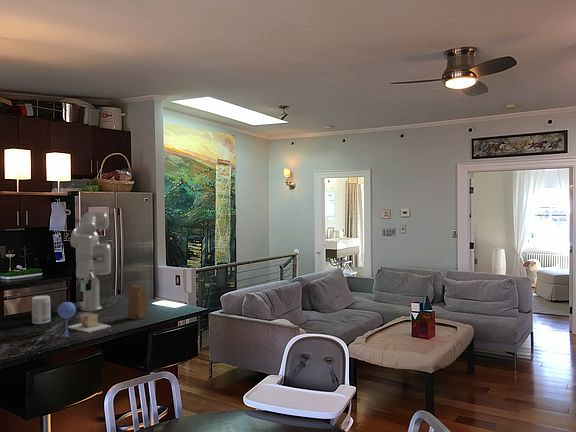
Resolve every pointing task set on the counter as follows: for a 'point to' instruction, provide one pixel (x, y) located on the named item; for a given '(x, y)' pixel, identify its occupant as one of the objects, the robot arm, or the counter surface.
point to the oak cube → (89, 320)
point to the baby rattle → (66, 312)
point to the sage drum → (83, 286)
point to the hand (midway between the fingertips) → (85, 289)
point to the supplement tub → (41, 309)
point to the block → (137, 302)
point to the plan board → (90, 329)
